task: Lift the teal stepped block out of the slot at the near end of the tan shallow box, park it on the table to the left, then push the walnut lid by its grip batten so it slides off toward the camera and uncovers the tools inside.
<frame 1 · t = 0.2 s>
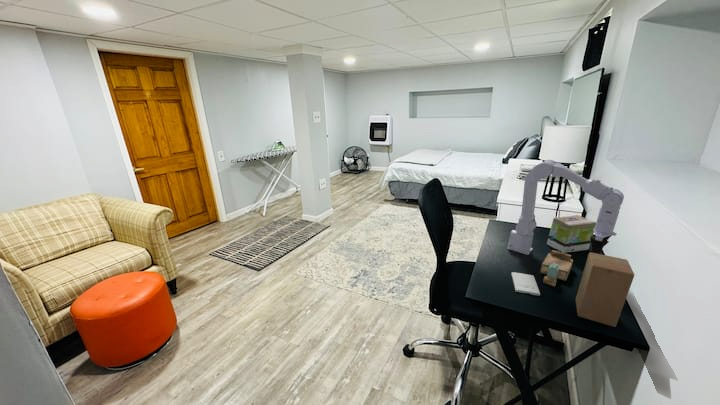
hand: (597, 250, 116), 10 cm above the table, fingers open, 7 cm apart
teal stepped block: (550, 280, 115), on the table
tea box: (567, 247, 140), on the table
external hard drive: (524, 285, 113), on the table
wooden block: (594, 313, 97), on the table
tan shallow box: (555, 270, 121), on the table
lid: (558, 260, 119), point 5 cm above the table, slide at 0.0 cm
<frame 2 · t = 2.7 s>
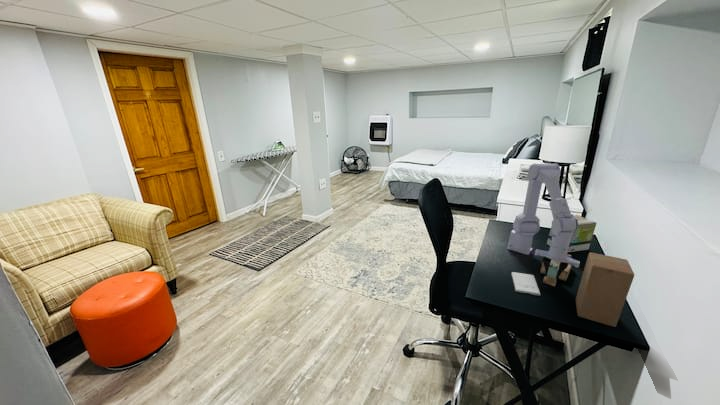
hand: (551, 275, 114), 2 cm above the table, fingers closed on teal stepped block, 3 cm apart
teal stepped block: (550, 279, 115), on the table, touching gripper
everything else where it was.
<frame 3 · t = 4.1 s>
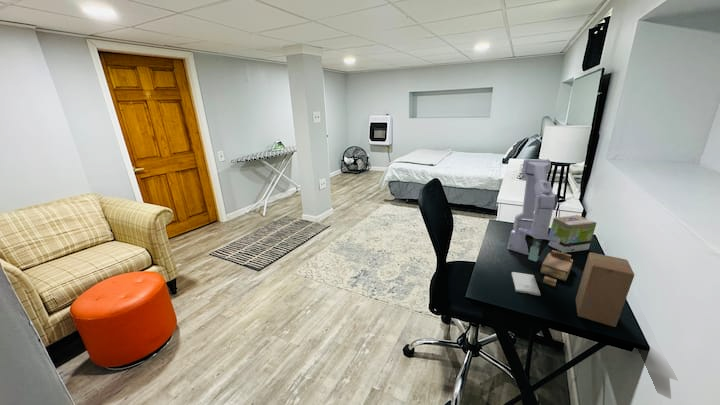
hand: (534, 253, 117), 9 cm above the table, fingers closed on teal stepped block, 3 cm apart
teal stepped block: (533, 258, 117), point 7 cm above the table, touching gripper
everything else where it was.
when the fingers open (3 cm above the table, at t = 5.5 s): teal stepped block stays where it is, on the table.
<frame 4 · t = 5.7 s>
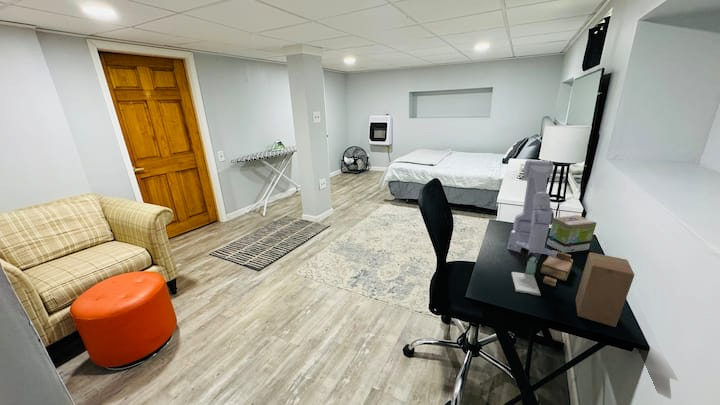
hand: (531, 266, 119), 3 cm above the table, fingers open, 4 cm apart
teal stepped block: (530, 273, 120), on the table
everything else where it was.
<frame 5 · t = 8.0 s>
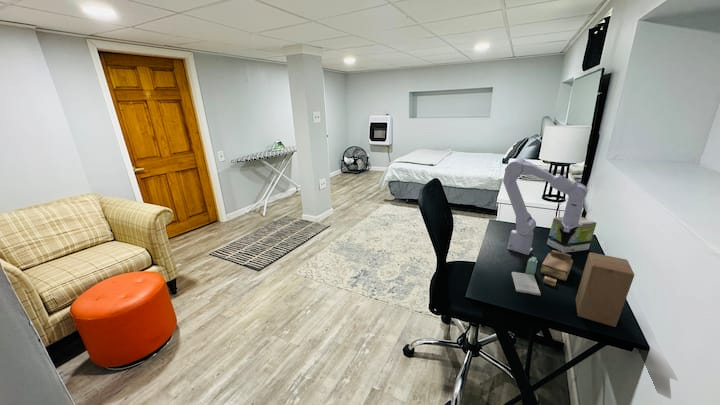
hand: (565, 241, 124), 10 cm above the table, fingers open, 4 cm apart
nothing on the table moved.
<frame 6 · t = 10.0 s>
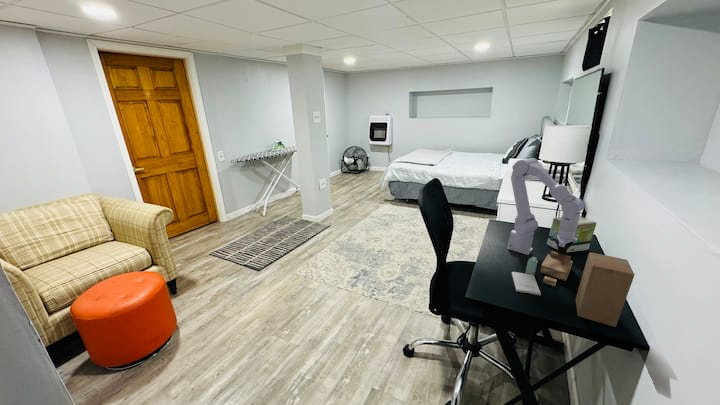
hand: (560, 255, 123), 5 cm above the table, fingers closed
lid: (557, 261, 118), point 5 cm above the table, slide at 1.3 cm, touching gripper
everything else where it was.
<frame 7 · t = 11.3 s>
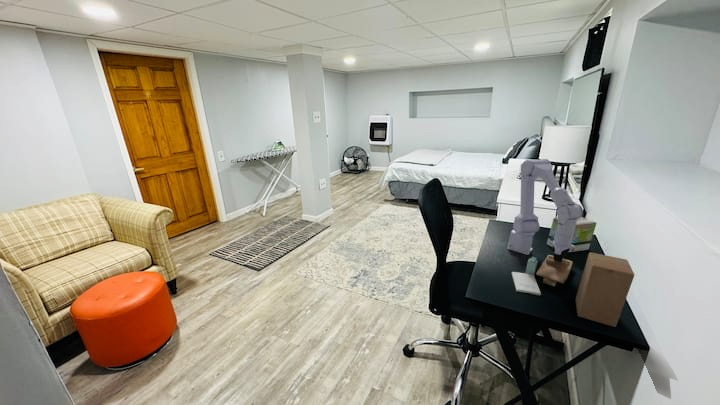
hand: (557, 262, 117), 5 cm above the table, fingers closed
lid: (553, 269, 113), point 5 cm above the table, slide at 9.1 cm, touching gripper
everything else where it was.
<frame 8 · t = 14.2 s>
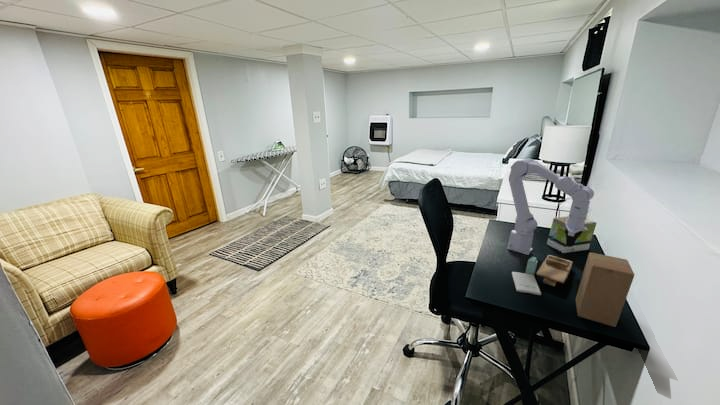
hand: (569, 245, 121), 10 cm above the table, fingers closed
lid: (553, 269, 113), point 5 cm above the table, slide at 9.0 cm
everything else where it was.
at the end: lid slide at 9.0 cm; teal stepped block moved 7.5 cm from its start; the gripper is holding nothing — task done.
